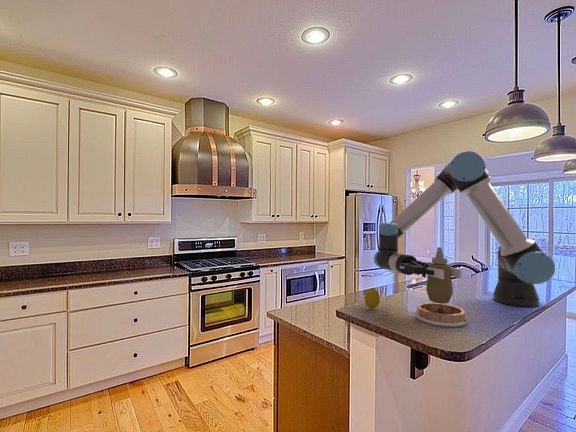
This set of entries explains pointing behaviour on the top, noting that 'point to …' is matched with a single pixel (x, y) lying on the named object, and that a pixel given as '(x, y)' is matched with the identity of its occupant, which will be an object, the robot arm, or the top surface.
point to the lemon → (372, 298)
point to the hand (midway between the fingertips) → (451, 274)
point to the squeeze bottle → (440, 280)
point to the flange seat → (441, 315)
